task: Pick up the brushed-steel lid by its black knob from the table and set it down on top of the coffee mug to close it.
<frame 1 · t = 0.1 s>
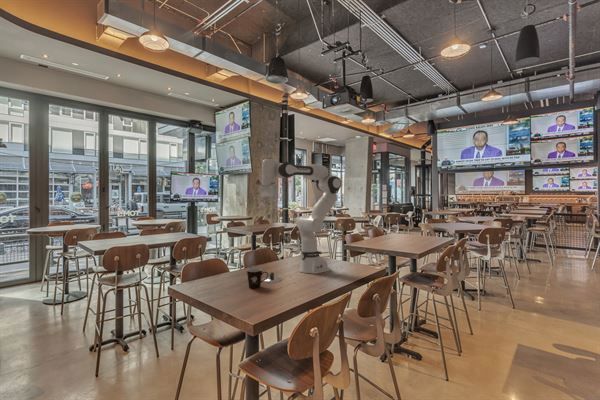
hand: (268, 204, 195), 48 cm above the table, tool pointing down, fingers open, 8 cm apart
lid: (271, 280, 189), on the table
coffee mug: (256, 287, 174), on the table
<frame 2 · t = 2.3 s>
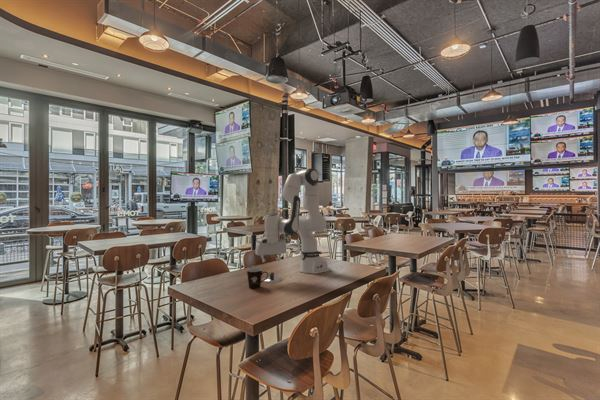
hand: (271, 261, 189), 12 cm above the table, tool pointing down, fingers open, 8 cm apart
nothing on the table moved.
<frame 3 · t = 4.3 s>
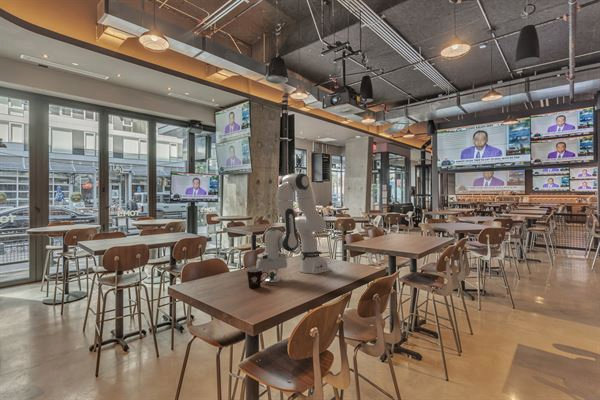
hand: (271, 276, 189), 2 cm above the table, tool pointing down, fingers closed on lid, 3 cm apart
lid: (272, 279, 189), on the table, touching gripper
everything else where it was.
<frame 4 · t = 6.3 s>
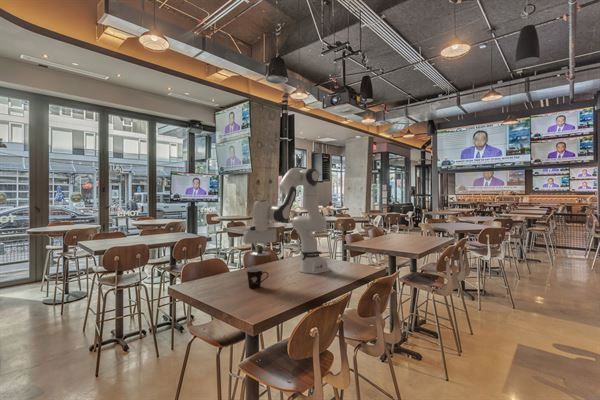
hand: (260, 250, 178), 21 cm above the table, tool pointing down, fingers closed on lid, 3 cm apart
lid: (260, 254, 178), point 18 cm above the table, touching gripper
everything else where it was.
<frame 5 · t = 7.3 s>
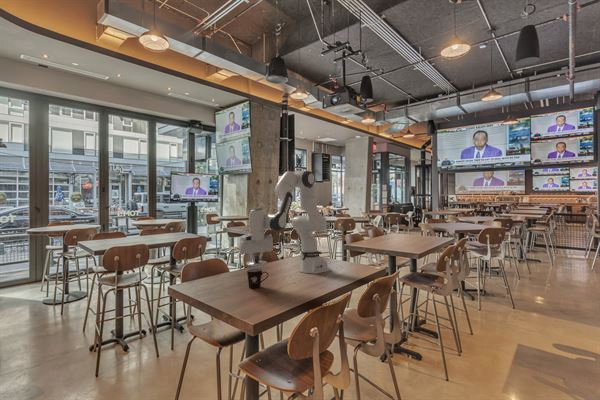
hand: (256, 260, 173), 16 cm above the table, tool pointing down, fingers closed on lid, 3 cm apart
lid: (256, 263, 173), point 14 cm above the table, touching gripper
everything else where it was.
when the fingers open (14 cm above the table, at t = 8.3 s): lid drops 1 cm, resting on coffee mug.
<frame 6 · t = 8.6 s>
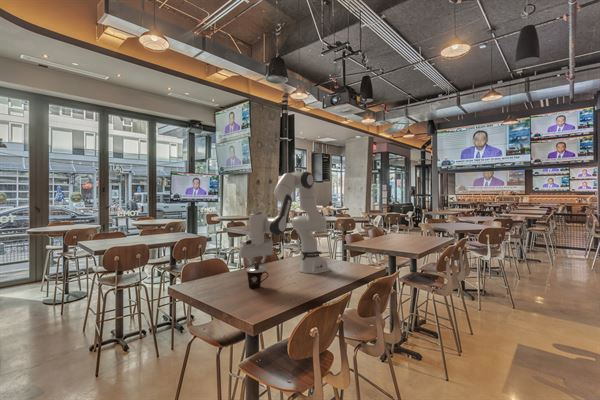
hand: (256, 264, 174), 14 cm above the table, tool pointing down, fingers open, 6 cm apart
lid: (256, 270, 174), point 10 cm above the table, touching coffee mug
coffee mug: (256, 287, 174), on the table, touching lid
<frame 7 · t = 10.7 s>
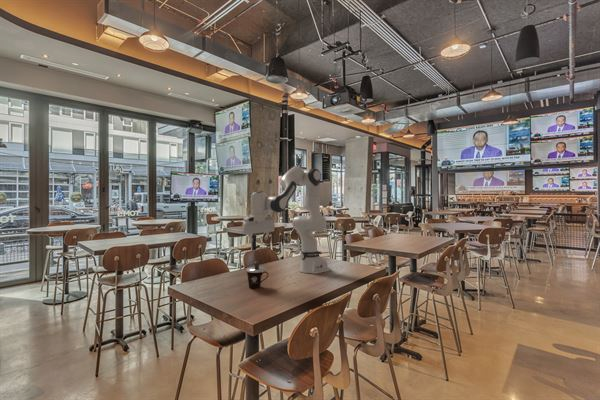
hand: (259, 240, 183), 26 cm above the table, tool pointing down, fingers open, 8 cm apart
nothing on the table moved.
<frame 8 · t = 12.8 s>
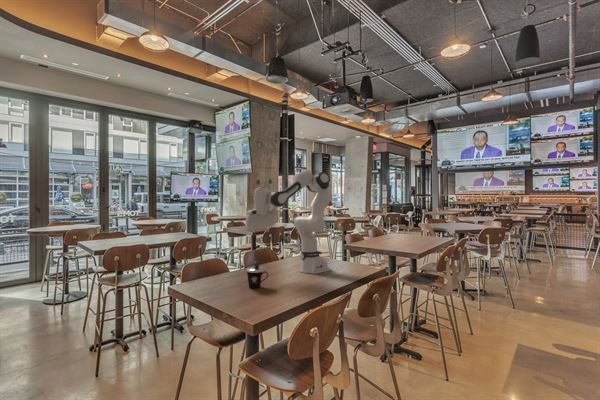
hand: (260, 232, 199), 29 cm above the table, tool pointing down, fingers open, 8 cm apart
nothing on the table moved.
at the end: lid 0.0 cm off-centre on the coffee mug, point 10.2 cm above the coffee mug's base; lid tilted 0°; the gripper is holding nothing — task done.
